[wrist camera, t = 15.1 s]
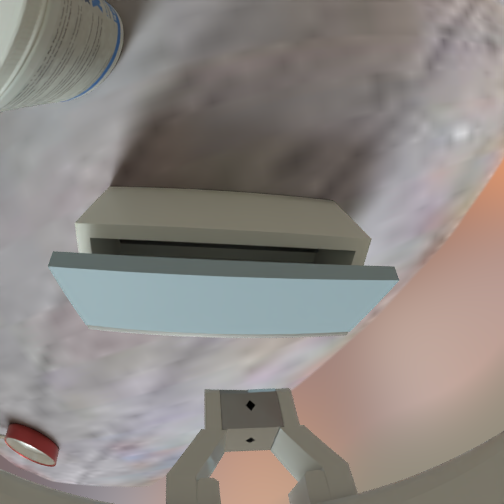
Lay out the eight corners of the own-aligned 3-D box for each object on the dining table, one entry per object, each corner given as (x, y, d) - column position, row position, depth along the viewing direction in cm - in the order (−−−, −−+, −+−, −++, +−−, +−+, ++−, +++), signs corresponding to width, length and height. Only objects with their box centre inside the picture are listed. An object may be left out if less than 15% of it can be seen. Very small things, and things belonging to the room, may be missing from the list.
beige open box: (114, 257, 28) (89, 309, 21) (109, 186, 24) (74, 223, 17) (317, 266, 31) (345, 316, 24) (332, 200, 28) (371, 239, 21)
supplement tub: (143, 6, 17) (75, -72, 5) (105, 110, 21) (-3, 138, 8) (50, -1, 15) (-54, -39, 2) (18, 95, 19) (-102, 121, 6)
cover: (92, 319, 21) (90, 331, 21) (53, 251, 14) (47, 266, 14) (341, 326, 24) (344, 337, 24) (394, 266, 18) (399, 280, 17)
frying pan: (-22, 428, 45) (-28, 446, 40) (-47, 400, 39) (-55, 418, 34) (68, 455, 49) (63, 477, 44) (42, 428, 43) (36, 453, 38)
